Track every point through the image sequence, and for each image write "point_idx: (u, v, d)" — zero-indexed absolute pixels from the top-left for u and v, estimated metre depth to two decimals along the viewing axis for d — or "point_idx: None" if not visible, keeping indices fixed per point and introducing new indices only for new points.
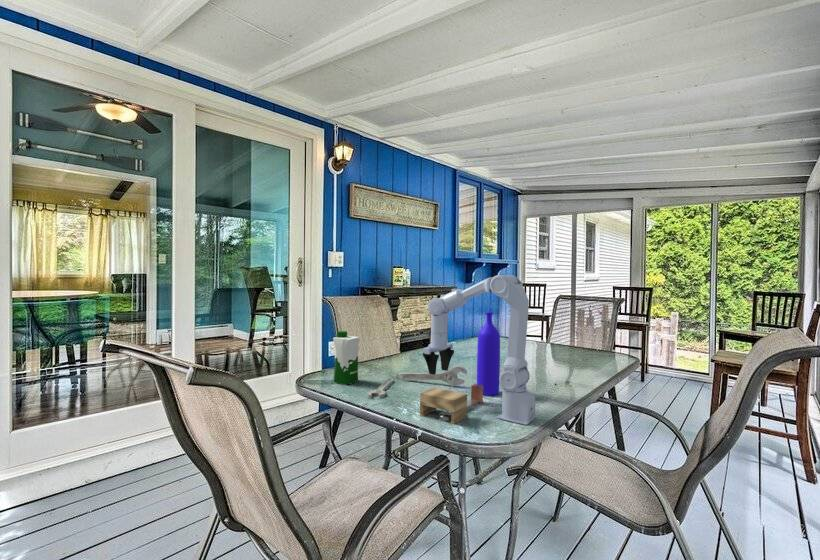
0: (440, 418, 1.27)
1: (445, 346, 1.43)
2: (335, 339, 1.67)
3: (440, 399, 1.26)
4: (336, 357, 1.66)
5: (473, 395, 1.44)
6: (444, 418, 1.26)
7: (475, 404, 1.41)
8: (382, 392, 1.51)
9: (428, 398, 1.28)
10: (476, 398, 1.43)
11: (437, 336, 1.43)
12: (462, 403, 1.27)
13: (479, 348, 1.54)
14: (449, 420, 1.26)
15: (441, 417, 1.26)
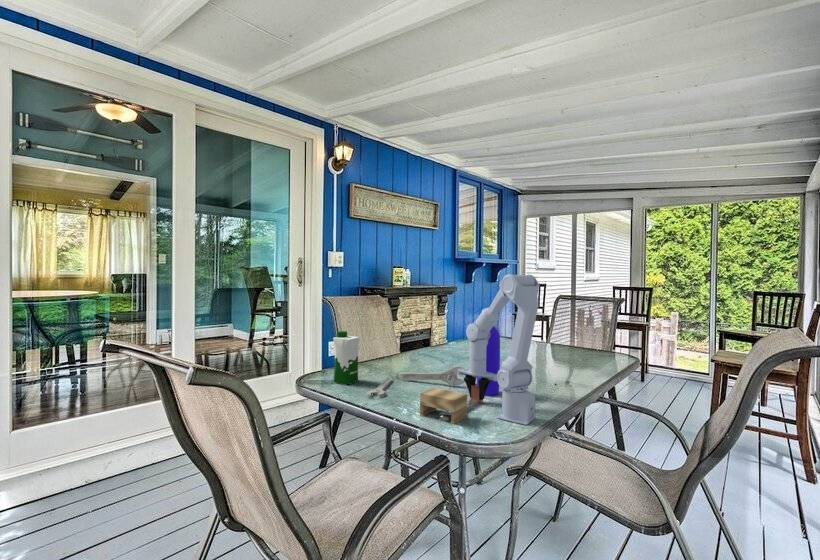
0: (440, 418, 1.27)
1: (472, 373, 1.42)
2: (335, 339, 1.67)
3: (440, 399, 1.26)
4: (336, 357, 1.66)
5: (473, 395, 1.44)
6: (444, 418, 1.26)
7: (475, 404, 1.41)
8: (381, 392, 1.51)
9: (428, 398, 1.28)
10: (476, 398, 1.43)
11: (469, 361, 1.45)
12: (462, 403, 1.27)
13: None
14: (449, 420, 1.26)
15: (441, 417, 1.26)
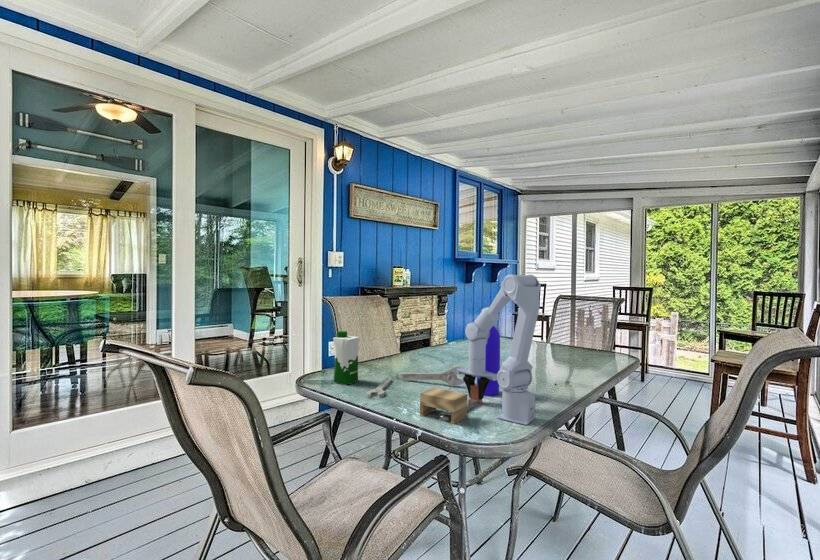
0: (440, 418, 1.27)
1: (472, 372, 1.42)
2: (335, 339, 1.67)
3: (440, 399, 1.26)
4: (336, 357, 1.66)
5: (472, 395, 1.43)
6: (444, 418, 1.26)
7: (474, 404, 1.40)
8: (381, 391, 1.52)
9: (428, 398, 1.28)
10: (475, 398, 1.42)
11: None
12: (462, 403, 1.27)
13: None
14: (449, 420, 1.26)
15: (441, 417, 1.26)
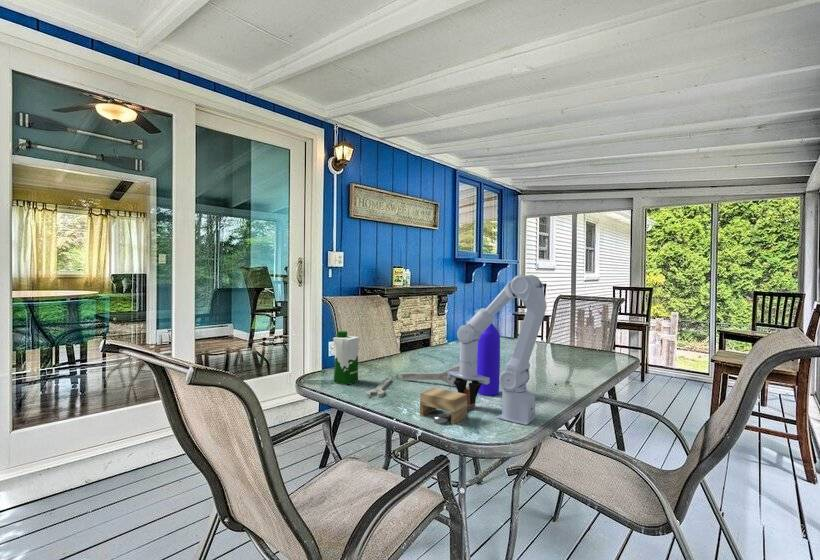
0: (435, 420, 1.24)
1: (463, 376, 1.36)
2: (335, 339, 1.67)
3: (440, 399, 1.26)
4: (336, 357, 1.66)
5: None
6: (439, 420, 1.23)
7: (467, 408, 1.36)
8: (381, 391, 1.52)
9: (428, 398, 1.28)
10: (468, 402, 1.38)
11: None
12: (462, 403, 1.27)
13: (479, 348, 1.54)
14: (444, 422, 1.23)
15: (436, 419, 1.24)
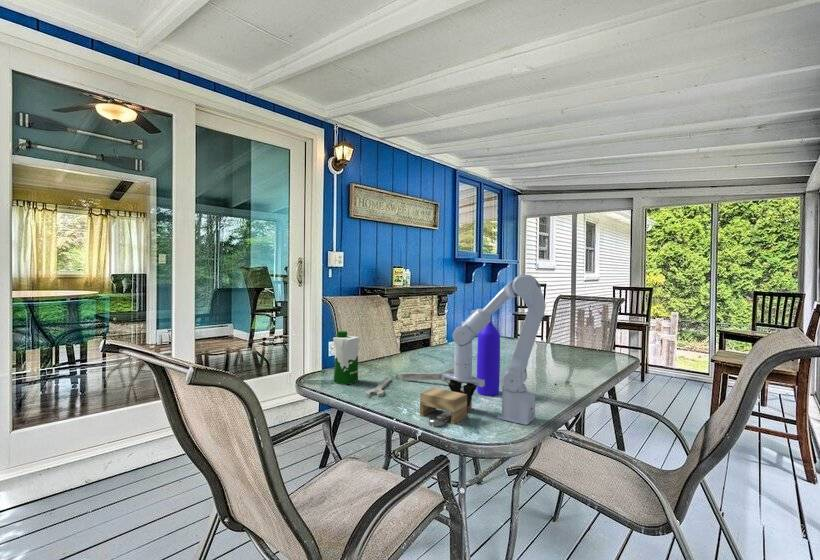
0: (430, 423, 1.22)
1: (457, 378, 1.33)
2: (335, 339, 1.67)
3: (440, 399, 1.26)
4: (336, 357, 1.66)
5: None
6: (434, 423, 1.21)
7: None
8: (380, 391, 1.52)
9: (428, 398, 1.28)
10: None
11: (454, 365, 1.36)
12: (462, 403, 1.27)
13: (479, 348, 1.54)
14: (439, 425, 1.21)
15: (431, 422, 1.22)
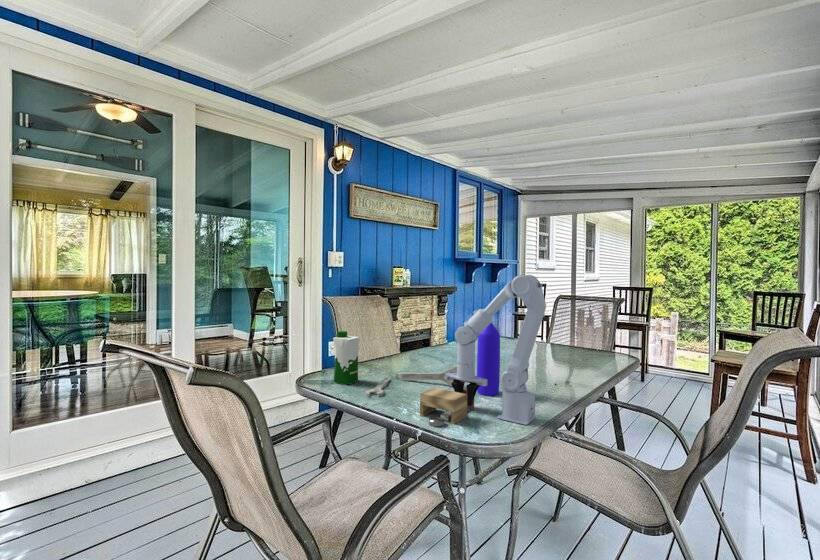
0: (430, 423, 1.22)
1: (460, 377, 1.35)
2: (335, 339, 1.67)
3: (440, 399, 1.26)
4: (336, 357, 1.66)
5: None
6: (434, 423, 1.21)
7: None
8: (380, 391, 1.52)
9: (428, 398, 1.28)
10: (467, 403, 1.38)
11: (457, 364, 1.38)
12: (462, 403, 1.27)
13: (479, 348, 1.54)
14: (439, 425, 1.21)
15: (431, 422, 1.22)
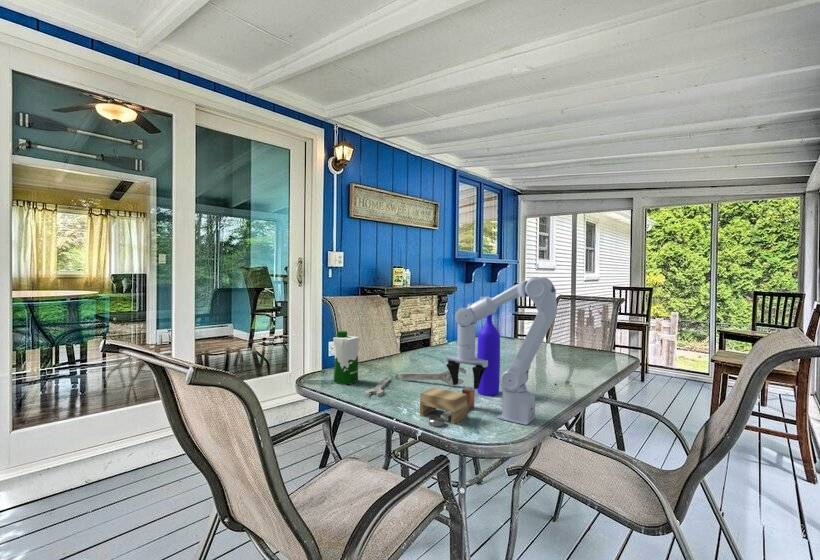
0: (430, 423, 1.22)
1: (461, 359, 1.35)
2: (335, 339, 1.67)
3: (440, 399, 1.26)
4: (336, 357, 1.66)
5: None
6: (434, 423, 1.21)
7: None
8: (380, 391, 1.53)
9: (428, 398, 1.28)
10: (467, 403, 1.38)
11: None
12: (462, 403, 1.27)
13: (479, 348, 1.54)
14: (439, 425, 1.21)
15: (431, 422, 1.22)
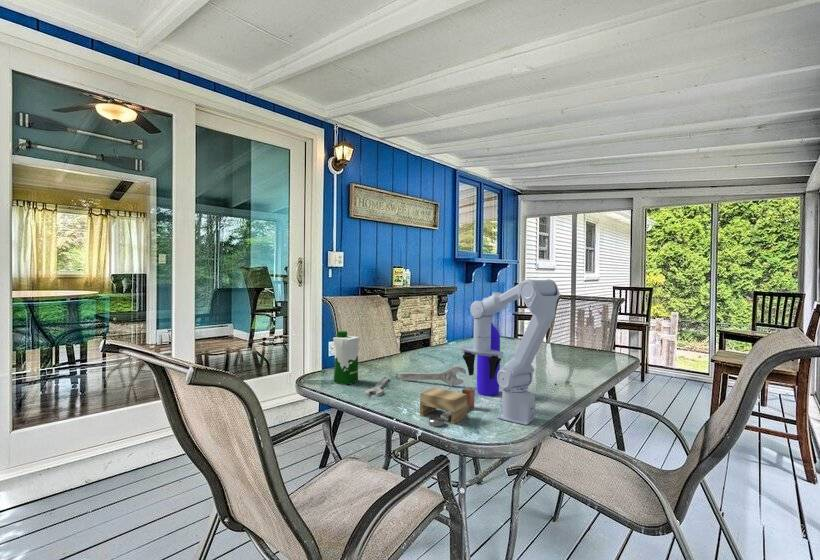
0: (430, 423, 1.22)
1: (477, 350, 1.40)
2: (335, 339, 1.67)
3: (440, 399, 1.26)
4: (336, 357, 1.66)
5: None
6: (434, 423, 1.21)
7: None
8: (379, 390, 1.53)
9: (428, 398, 1.28)
10: (467, 403, 1.38)
11: None
12: (462, 403, 1.27)
13: None
14: (439, 425, 1.21)
15: (431, 422, 1.22)
